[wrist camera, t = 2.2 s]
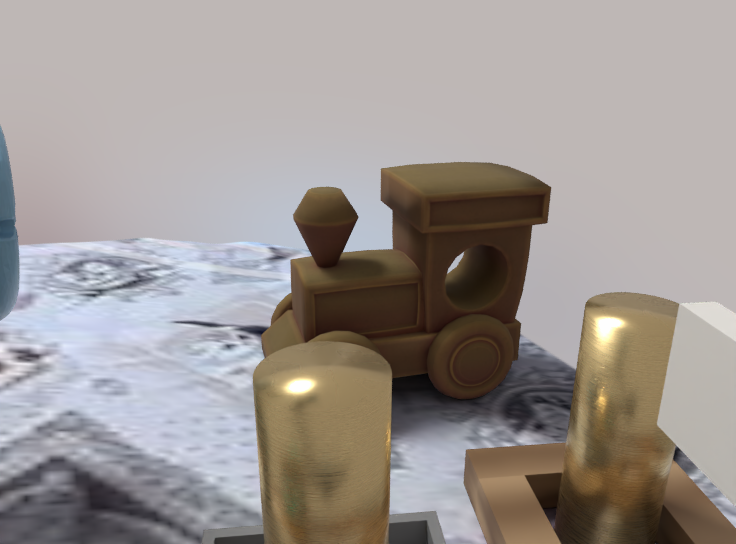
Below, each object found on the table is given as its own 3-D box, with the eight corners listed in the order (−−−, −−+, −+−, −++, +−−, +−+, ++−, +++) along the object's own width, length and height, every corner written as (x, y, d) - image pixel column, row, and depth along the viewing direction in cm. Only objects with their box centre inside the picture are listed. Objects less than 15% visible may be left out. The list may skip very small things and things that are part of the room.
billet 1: (248, 667, 27) (222, 382, 22) (319, 587, 31) (311, 330, 26) (343, 734, 24) (338, 428, 19) (407, 638, 28) (417, 363, 23)
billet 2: (540, 557, 33) (572, 319, 29) (568, 503, 37) (600, 285, 32) (639, 601, 31) (692, 347, 26) (658, 537, 35) (708, 307, 30)
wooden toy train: (474, 333, 59) (487, 156, 53) (538, 396, 49) (561, 185, 43) (260, 361, 54) (248, 168, 48) (280, 438, 43) (268, 204, 38)
